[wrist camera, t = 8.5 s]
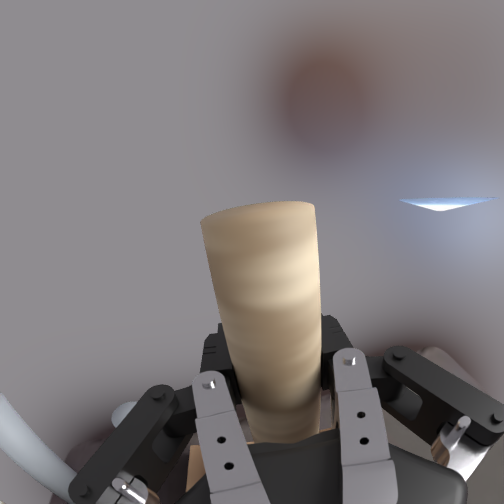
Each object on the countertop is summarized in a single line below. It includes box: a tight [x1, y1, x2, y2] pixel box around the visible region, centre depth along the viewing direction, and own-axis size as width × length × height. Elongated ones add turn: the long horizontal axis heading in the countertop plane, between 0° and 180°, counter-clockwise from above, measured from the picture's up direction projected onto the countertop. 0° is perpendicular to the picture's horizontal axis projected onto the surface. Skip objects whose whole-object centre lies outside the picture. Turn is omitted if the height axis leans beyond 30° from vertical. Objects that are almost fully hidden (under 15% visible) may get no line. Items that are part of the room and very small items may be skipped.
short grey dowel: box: [112, 402, 177, 466], centre depth 20 cm, size 4×4×8 cm
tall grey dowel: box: [0, 392, 77, 504], centre depth 11 cm, size 4×4×16 cm
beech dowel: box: [200, 201, 321, 443], centre depth 11 cm, size 4×4×14 cm
